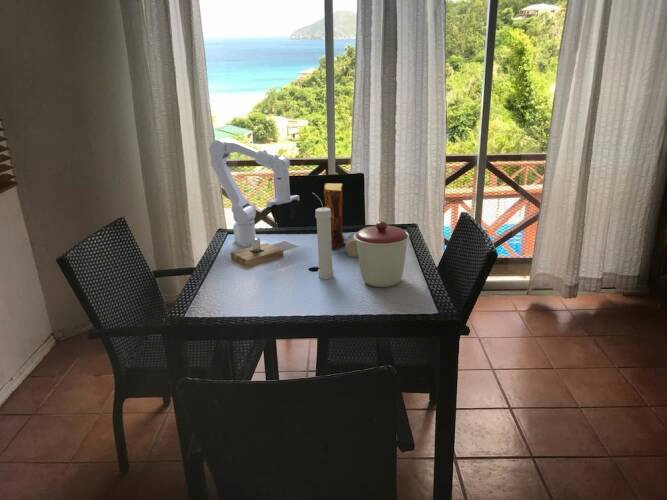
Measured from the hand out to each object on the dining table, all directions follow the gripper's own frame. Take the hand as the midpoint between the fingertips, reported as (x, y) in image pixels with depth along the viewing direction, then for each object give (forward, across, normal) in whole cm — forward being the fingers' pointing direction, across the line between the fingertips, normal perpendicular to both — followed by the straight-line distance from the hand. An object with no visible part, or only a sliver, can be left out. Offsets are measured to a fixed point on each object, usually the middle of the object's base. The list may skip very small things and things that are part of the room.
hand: (284, 220), depth 223 cm
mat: (+10, -3, -1) cm, 11 cm away
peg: (+10, -17, -5) cm, 21 cm away
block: (+10, -17, -5) cm, 21 cm away
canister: (+11, +1, -55) cm, 56 cm away
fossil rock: (+11, +16, -12) cm, 23 cm away
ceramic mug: (+11, +14, -30) cm, 34 cm away
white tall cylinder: (+11, -10, -38) cm, 41 cm away
